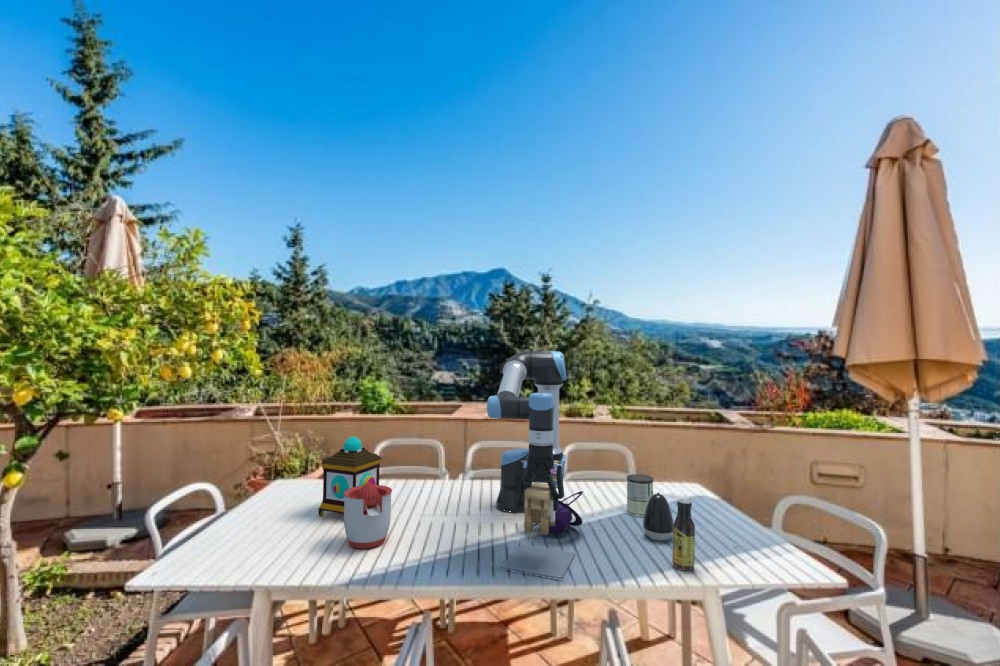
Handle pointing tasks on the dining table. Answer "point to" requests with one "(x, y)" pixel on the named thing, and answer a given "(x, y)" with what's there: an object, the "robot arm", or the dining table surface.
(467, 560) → the dining table surface
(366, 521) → the citrus juicer
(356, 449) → the decorative lantern
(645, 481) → the coffee can
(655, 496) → the black egg shape
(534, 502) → the notched wooden block
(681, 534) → the sauce bottle
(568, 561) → the slate mat
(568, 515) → the ringed planet sculpture
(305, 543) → the dining table surface
